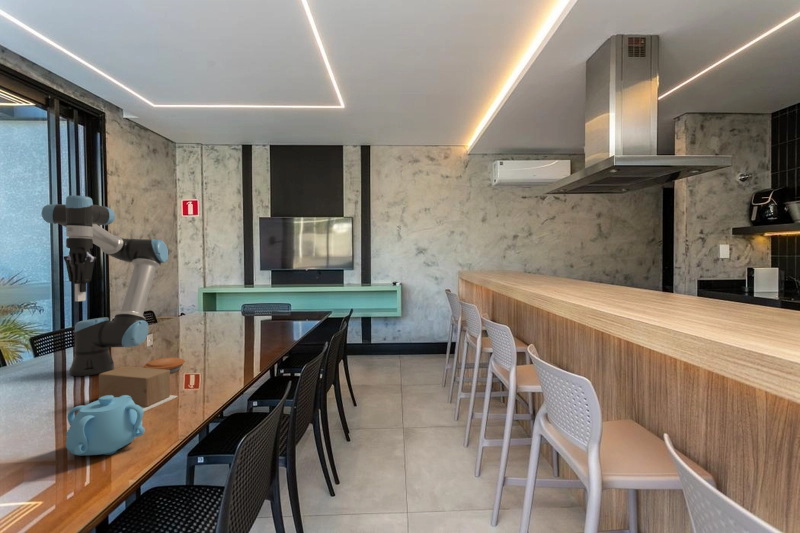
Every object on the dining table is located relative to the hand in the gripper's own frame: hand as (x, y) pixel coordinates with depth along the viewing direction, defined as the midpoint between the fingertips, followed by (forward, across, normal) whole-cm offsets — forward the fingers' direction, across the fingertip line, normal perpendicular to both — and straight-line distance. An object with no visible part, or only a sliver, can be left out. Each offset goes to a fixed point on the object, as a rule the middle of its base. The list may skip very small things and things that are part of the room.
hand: (80, 300), depth 138 cm
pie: (+35, +8, +29) cm, 46 cm away
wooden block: (+29, +17, -2) cm, 34 cm away
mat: (+34, +29, -2) cm, 45 cm away
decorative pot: (+35, +49, -28) cm, 66 cm away
